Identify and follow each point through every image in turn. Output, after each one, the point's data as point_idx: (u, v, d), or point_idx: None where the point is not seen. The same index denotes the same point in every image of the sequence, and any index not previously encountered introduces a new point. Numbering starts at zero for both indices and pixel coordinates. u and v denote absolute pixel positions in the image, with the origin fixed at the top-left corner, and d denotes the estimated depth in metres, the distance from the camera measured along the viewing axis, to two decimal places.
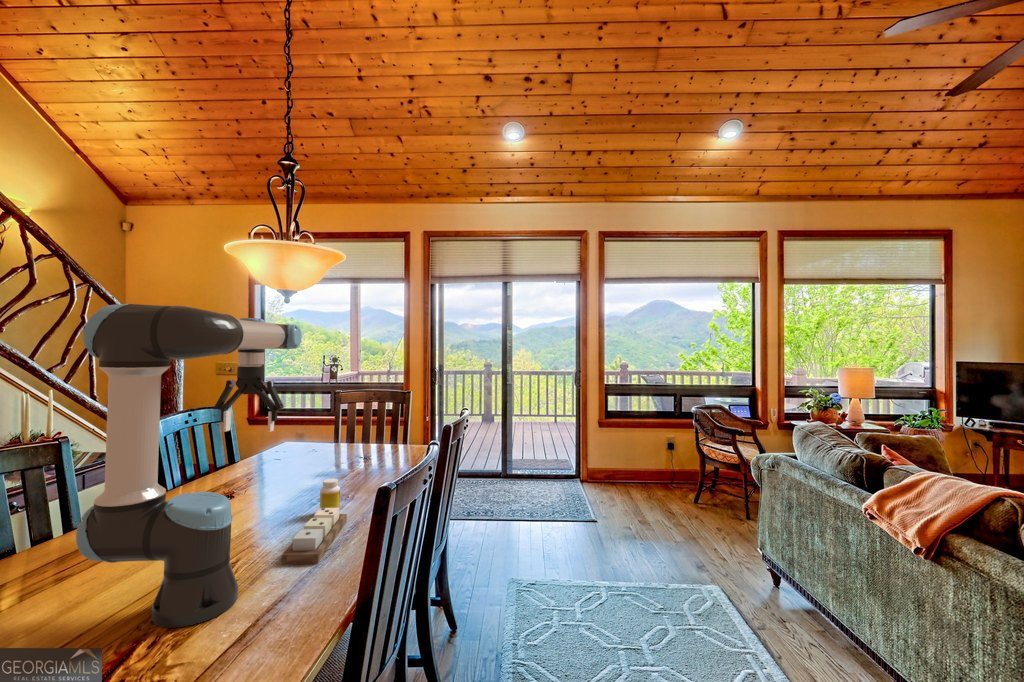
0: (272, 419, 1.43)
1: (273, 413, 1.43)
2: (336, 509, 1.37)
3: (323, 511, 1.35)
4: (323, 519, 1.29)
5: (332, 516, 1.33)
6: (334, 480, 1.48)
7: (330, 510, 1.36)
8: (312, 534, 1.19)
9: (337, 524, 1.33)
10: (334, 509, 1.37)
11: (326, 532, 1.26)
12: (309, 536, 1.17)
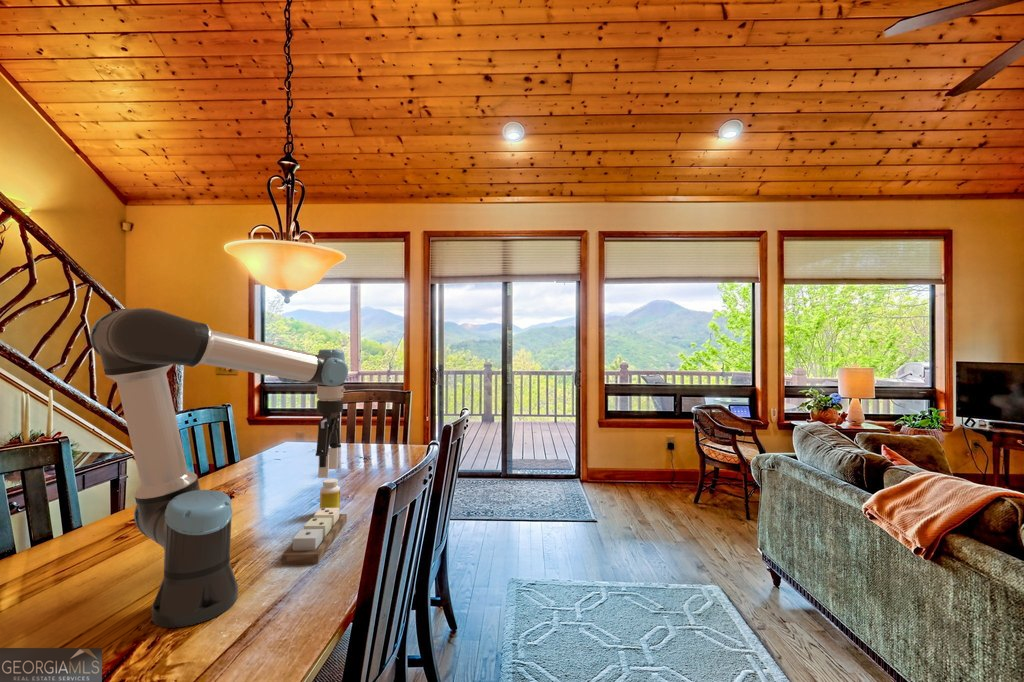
0: None
1: None
2: (336, 509, 1.37)
3: (323, 511, 1.35)
4: (323, 519, 1.29)
5: (332, 516, 1.33)
6: (334, 480, 1.48)
7: (330, 510, 1.36)
8: (312, 534, 1.19)
9: (337, 524, 1.33)
10: (334, 509, 1.37)
11: (326, 532, 1.26)
12: (309, 536, 1.17)
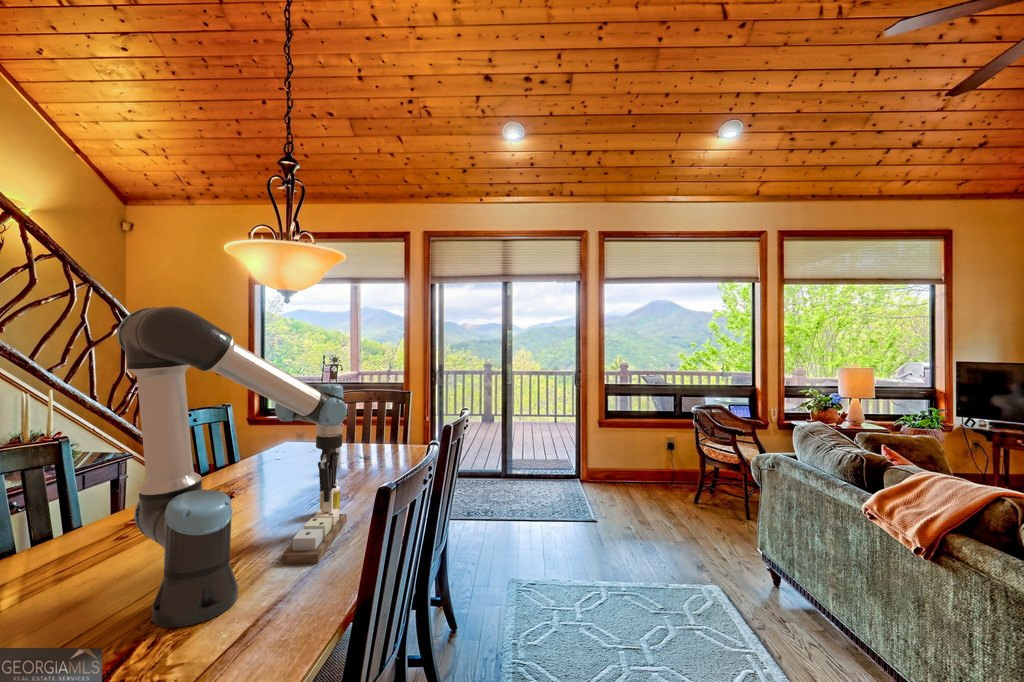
0: None
1: None
2: (336, 510, 1.37)
3: (323, 512, 1.35)
4: (323, 519, 1.29)
5: (332, 517, 1.33)
6: None
7: None
8: (312, 534, 1.19)
9: (337, 524, 1.33)
10: (334, 510, 1.37)
11: (326, 532, 1.26)
12: (309, 536, 1.17)
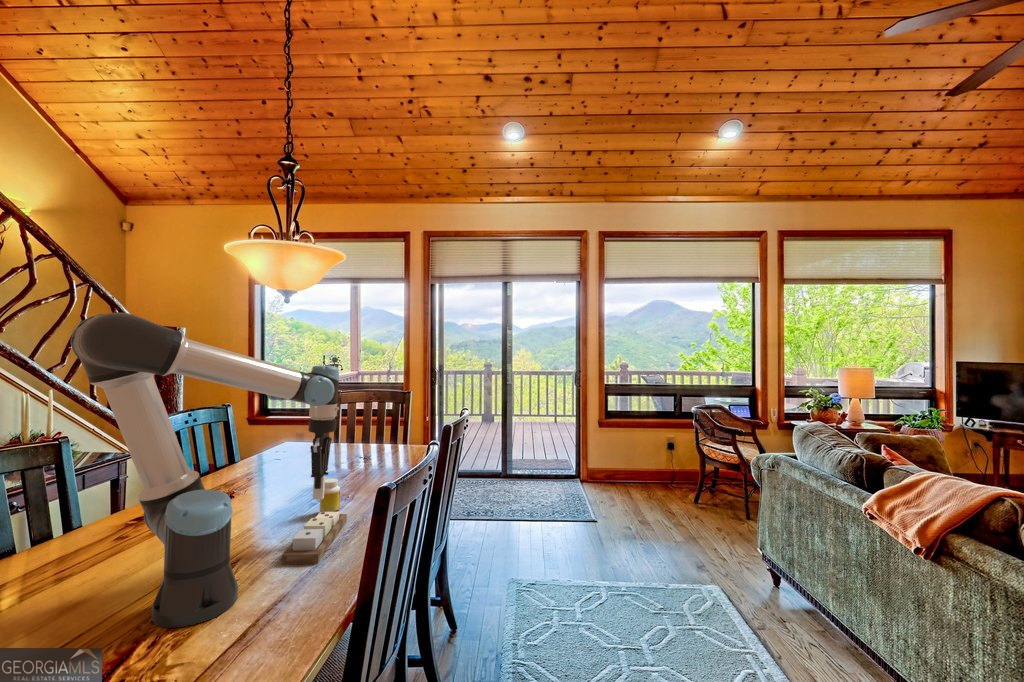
0: None
1: None
2: (336, 513, 1.37)
3: (323, 515, 1.35)
4: (323, 519, 1.29)
5: (332, 520, 1.33)
6: (334, 480, 1.48)
7: (330, 514, 1.36)
8: (312, 534, 1.19)
9: (337, 524, 1.33)
10: (334, 513, 1.37)
11: (326, 532, 1.26)
12: (309, 536, 1.17)
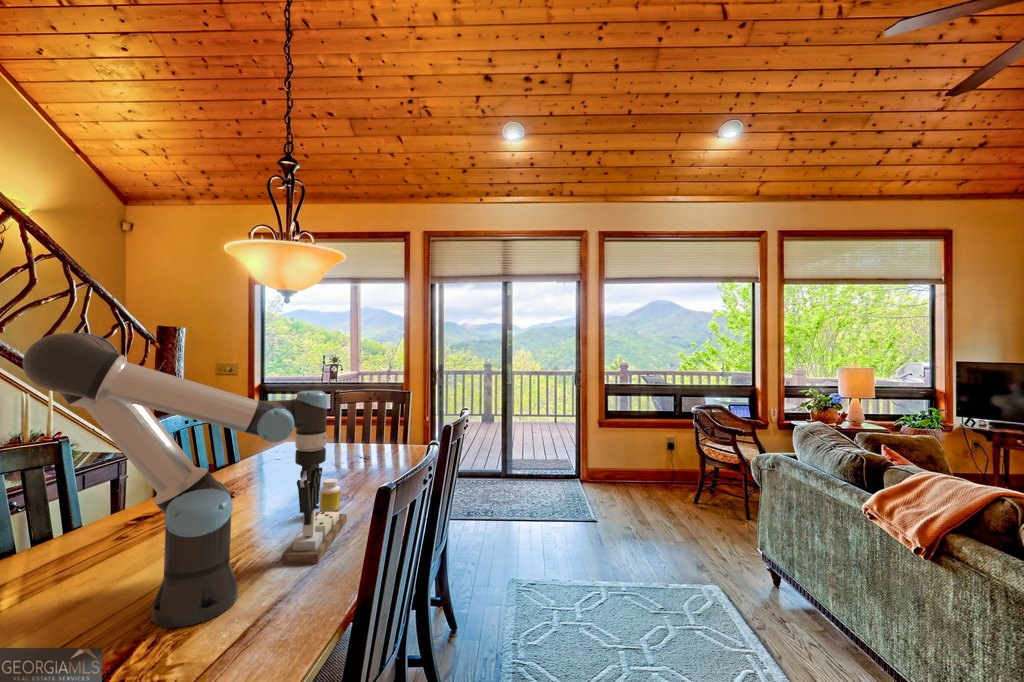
0: None
1: None
2: (336, 513, 1.37)
3: (323, 515, 1.35)
4: (323, 519, 1.29)
5: (332, 520, 1.33)
6: (334, 480, 1.48)
7: (330, 514, 1.36)
8: (312, 537, 1.19)
9: (337, 524, 1.33)
10: (334, 513, 1.37)
11: (326, 532, 1.26)
12: (309, 539, 1.17)
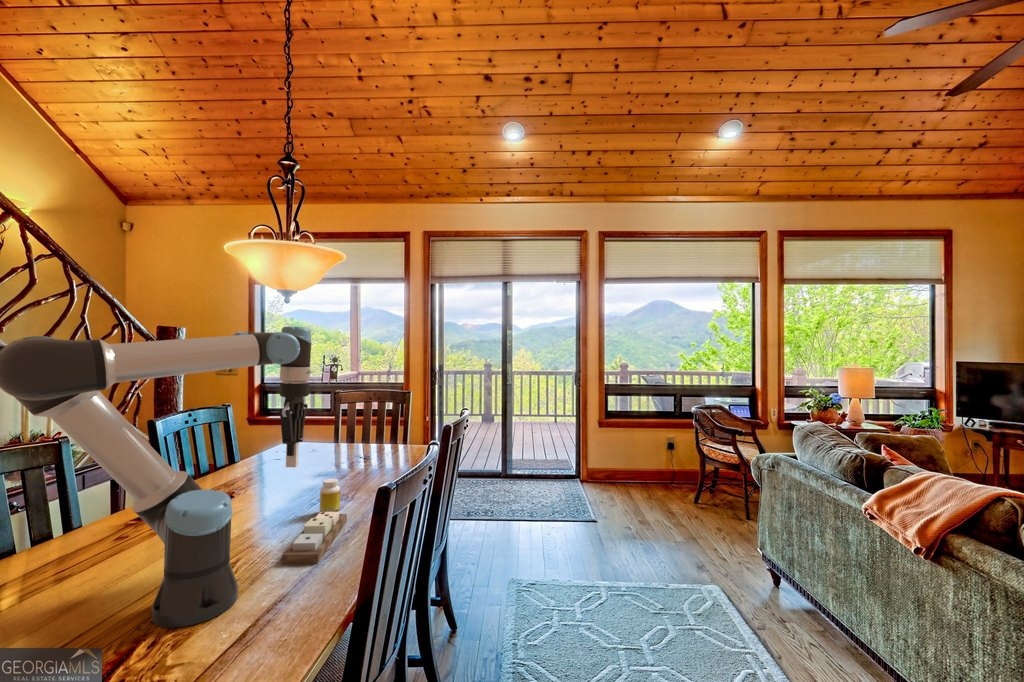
0: None
1: None
2: (336, 513, 1.37)
3: (323, 515, 1.35)
4: (323, 519, 1.29)
5: (332, 520, 1.33)
6: (334, 480, 1.48)
7: (330, 514, 1.36)
8: (312, 539, 1.19)
9: (337, 524, 1.33)
10: (334, 513, 1.37)
11: (326, 532, 1.26)
12: (309, 541, 1.17)
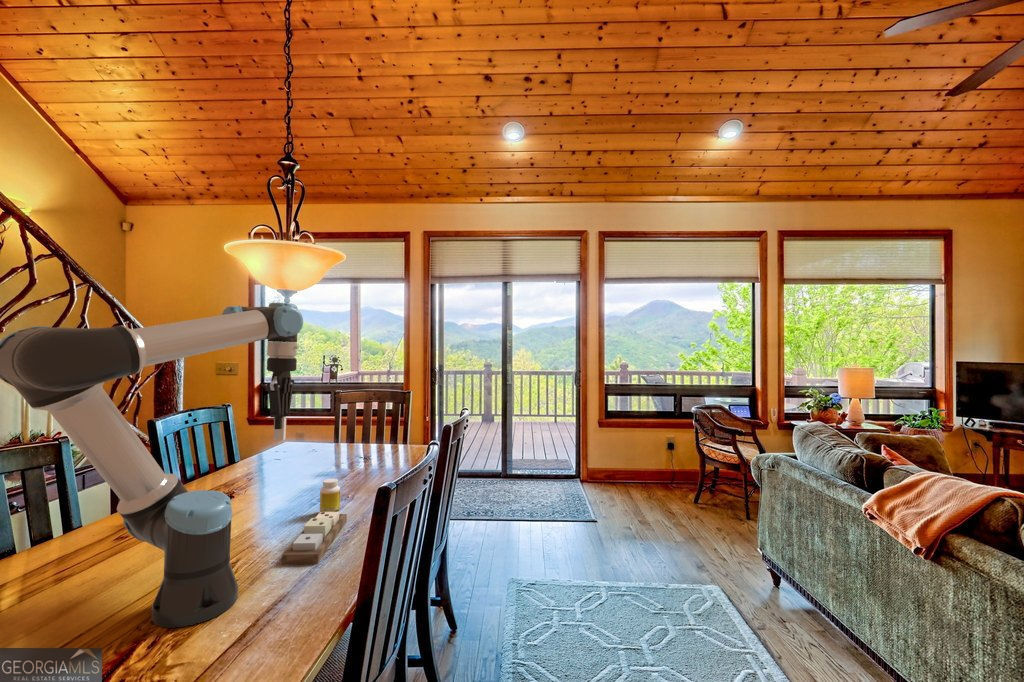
0: None
1: None
2: (336, 513, 1.37)
3: (323, 515, 1.35)
4: (323, 519, 1.29)
5: (332, 520, 1.33)
6: (334, 480, 1.48)
7: (330, 514, 1.36)
8: (312, 539, 1.19)
9: (337, 524, 1.33)
10: (334, 513, 1.37)
11: (326, 532, 1.26)
12: (309, 541, 1.17)
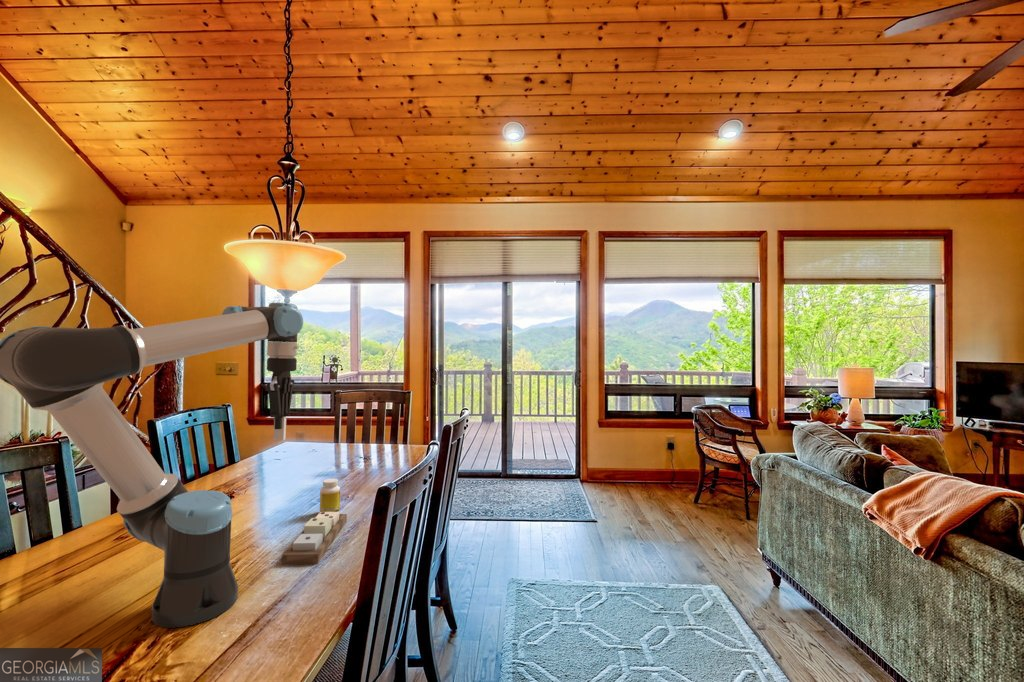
0: None
1: None
2: (336, 513, 1.37)
3: (323, 515, 1.35)
4: (323, 519, 1.29)
5: (332, 520, 1.33)
6: (334, 480, 1.48)
7: (330, 514, 1.36)
8: (312, 539, 1.19)
9: (337, 524, 1.33)
10: (334, 513, 1.37)
11: (326, 532, 1.26)
12: (309, 541, 1.17)
